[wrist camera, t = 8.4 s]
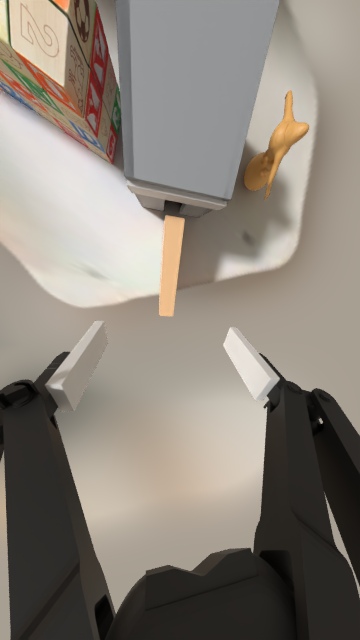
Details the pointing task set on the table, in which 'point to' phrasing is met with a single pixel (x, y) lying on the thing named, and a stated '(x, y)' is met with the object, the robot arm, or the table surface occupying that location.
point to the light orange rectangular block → (170, 263)
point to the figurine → (275, 150)
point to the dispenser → (188, 95)
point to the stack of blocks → (62, 68)
